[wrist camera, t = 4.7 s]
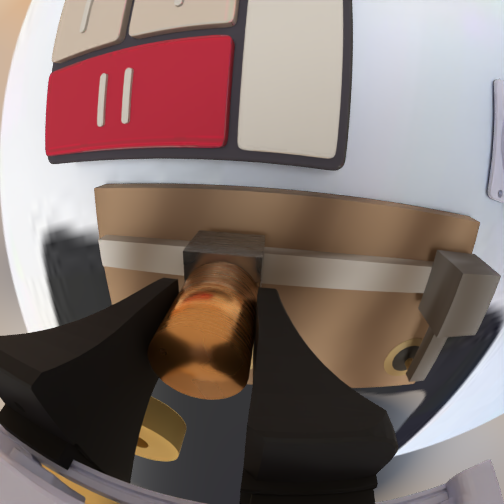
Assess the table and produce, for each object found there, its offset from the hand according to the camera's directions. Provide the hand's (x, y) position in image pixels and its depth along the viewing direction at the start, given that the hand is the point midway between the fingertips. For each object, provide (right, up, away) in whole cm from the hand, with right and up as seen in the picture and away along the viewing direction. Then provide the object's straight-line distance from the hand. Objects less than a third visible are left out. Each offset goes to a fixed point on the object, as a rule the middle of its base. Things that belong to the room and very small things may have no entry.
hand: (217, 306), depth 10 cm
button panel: (-2, +12, +2) cm, 13 cm away
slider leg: (0, -1, +4) cm, 5 cm away
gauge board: (+3, -1, +6) cm, 7 cm away
